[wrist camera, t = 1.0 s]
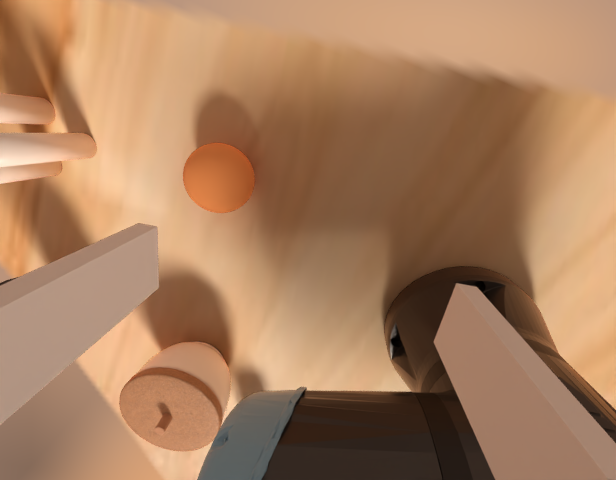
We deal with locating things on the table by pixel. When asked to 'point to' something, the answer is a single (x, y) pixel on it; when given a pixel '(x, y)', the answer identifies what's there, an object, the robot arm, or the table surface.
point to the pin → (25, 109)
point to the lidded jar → (178, 397)
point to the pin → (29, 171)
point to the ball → (218, 177)
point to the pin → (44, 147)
